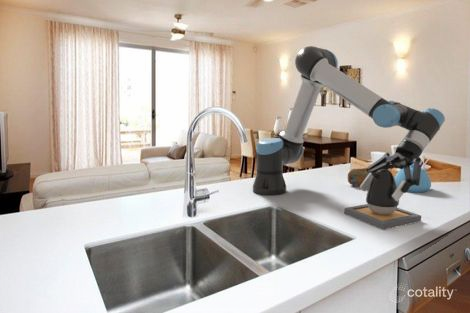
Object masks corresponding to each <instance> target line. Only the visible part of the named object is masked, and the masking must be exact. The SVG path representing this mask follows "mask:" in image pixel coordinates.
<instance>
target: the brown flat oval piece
mask: <svg viewBox="0 0 470 313" xmlns="http://www.w3.org/2000/svg"><path fill="white" fill-rule="evenodd" d="M366 168H367V167H361V168H360V167H359V168H353V169H351V170H350V171H349V172H348V174H347V182H348V183H349V185H351V186H354V187H359V186H360V185H361V184H362V182H363V181H364V178H365V177H366V175H367V174H368V172H367V171H366ZM373 173H374V172H373Z"/></svg>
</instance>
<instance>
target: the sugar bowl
mask: <svg viewBox="0 0 470 313" xmlns="http://www.w3.org/2000/svg"><path fill="white" fill-rule="evenodd" d="M413 168H414V164H412V165H410V170H411V171H410V172H411V176H412V177H413ZM394 178H395V181H396V185H397V188H398V186H399V185H400V184H401V182H402V181H403V180H404V181H405V182H406V180H405V179H406V178H405V174H404V169H399V170H398V172H397V173H396V175H395V176H394ZM431 188H432V181H431V178H430V176H429V174H428V172H427V170H426V169H425V168H424V167H421V174H420V184H419V185H418V186H416V185H412V186H410V188H409V189H408V190H407V192H408V193H426V192H428V191H429V190H430V189H431Z"/></svg>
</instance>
